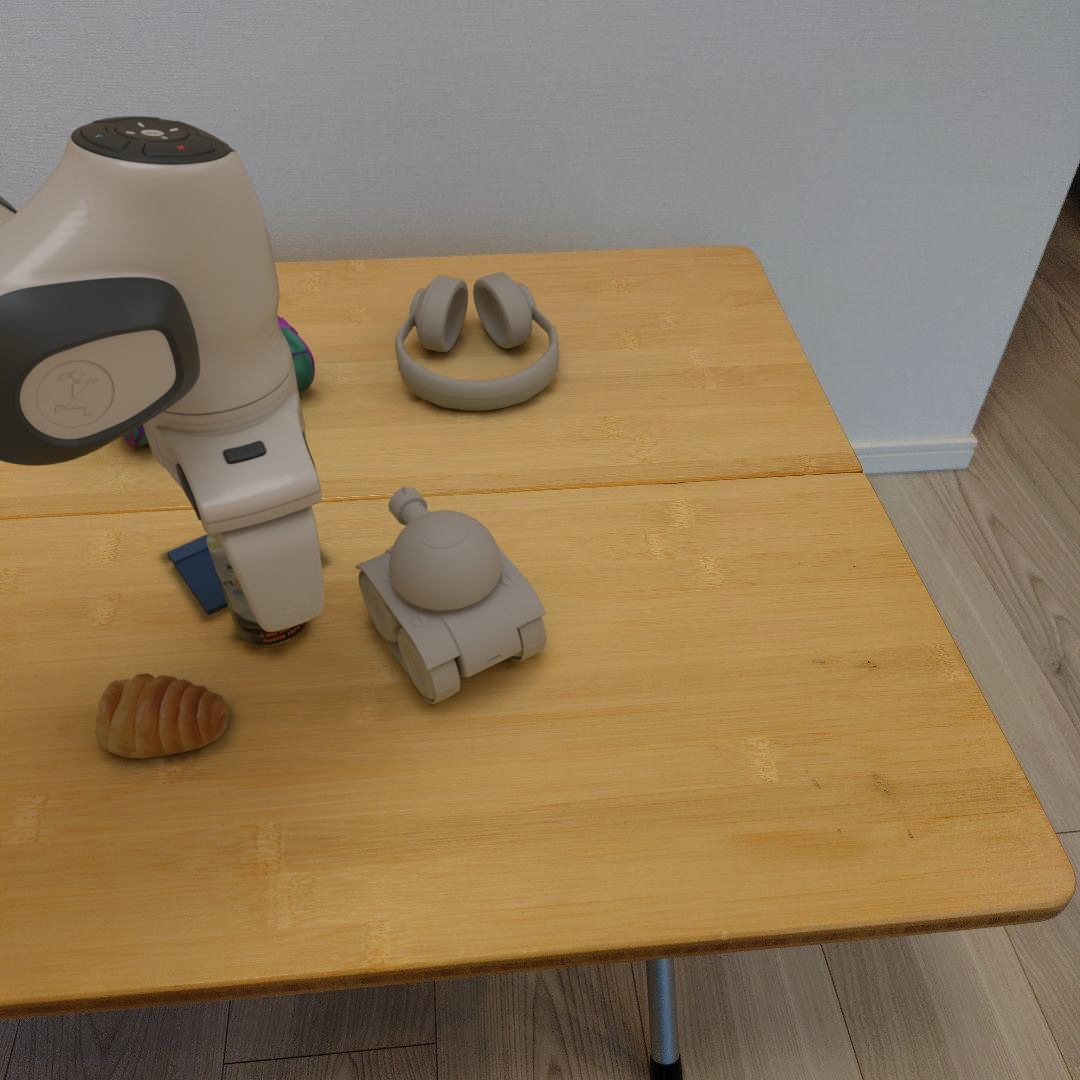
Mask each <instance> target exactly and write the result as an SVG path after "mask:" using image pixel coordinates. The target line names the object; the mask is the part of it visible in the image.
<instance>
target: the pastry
mask: <svg viewBox="0 0 1080 1080" xmlns="http://www.w3.org/2000/svg"><path fill="white" fill-rule="evenodd" d="M228 713H229V705H228V703H227V701H225V699H224V698H223V696H222V695H220V694H218V693H216V692H213V691H211V690H209V689H208V688H207V687H206V686H204V685H203V684H201V685H196V684H194V683H193V682H192V681H189V680H187V679H185V678H183V679H178V678H177V677H176V676H172V675H164V674H160V675H157V676H154V675H153V674H151V673H147V672H145V673H137V674H136V675H134V676H133V677H132V678H131V679H130V678H125V679H121V680H120V679H119V680H118V679H114V680H112V681H111V682H110V683H109V684H108V685H107V687H106V688H105V690H104V692H103V694H102V696H101V698H100V700H99V702H98V710H97V714H96V716H95V717H96V718H95V739H96V744H97V745H98V747H100V748H101V749H103V750H105V752H106V751H107V752H109V753H112V754H114V755H117V756H120V757H123V758H131V759H140V760H142V759H149V758H157V757H164V756H172V755H174V754H182V753H187V752H192V751H195V750H198V749H201V748H203V747H205V746H207V745H209V744H211V743H214V742H216V741H218V740H219V739H220V738H221V736H222V735H224V733H225V730H226V728H227V726H228V722H229V714H228Z"/></svg>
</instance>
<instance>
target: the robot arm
mask: <svg viewBox="0 0 1080 1080" xmlns="http://www.w3.org/2000/svg"><path fill="white" fill-rule="evenodd" d="M270 239H271V238H270V235H269V231H268V228H267V224H266V220H265V216H264V213H263V209H262V207H261V203H260V200H259V197H258V194H257V191H256V189H255V185H254V183H253V180H252V177H251V175H250V173H249V171H248V169H247V166H246V164H245V162H244V161H243V159H242V157H241V155H240V154H239V152H238V151H237V150H235V149H234V148H232V147H231V146H230V145H229V144H228V143H226V141H223V140H222V139H220V138H219V137H217V136H215V135H213V134H211V133H210V132H207V131H205V130H203V129H201V128H200V127H196V126H195V125H192V124H189V123H186V122H183V121H180V120H171V119H166V118H160V117H157V116H156V117H155V116H141V115H139V116H138V115H132V116H131V115H129V116H128V115H126V116H125V115H123V116H115V117H114V116H113V117H105V118H101V119H97V120H93V121H92V122H90V123H87V124H84V125H81V126H79V127H77V128H75V130H73V131H72V132H71V134H69V137H68V139H67V142H66V145H65V149H64V152H63V154H62V157H61V159H60V161H59V162H58V164H57V165H56V167H55V168H54V169H53V171H52V172H51V173H50V175H49V176H48V177H47V179H46V180H45V181H44V183H43V184H42V185H41V187H39V189H38V190H37V191H36V193H35V194H34V195H33V196H32V197H31V198H30V199H29V200H28V201H26V203H25V204H24V205H23V206H22V207H20V208H19V210H17V209H16V208H15V207H14V206H13V205H12V204H11V203H10V202H9V201H8V200H6V199H5V198H3V197H2V196H1V195H0V462H4V463H9V464H11V465H12V464H13V465H18V466H19V465H20V466H29V467H30V466H33V467H34V466H35V467H37V466H39V467H40V466H51V465H57V464H62V463H67V462H70V461H73V460H74V461H75V460H77V459H80V458H82V457H85V456H87V455H89V454H91V453H94V452H95V451H98V450H100V449H102V448H104V447H105V446H107V445H109V444H111V443H112V442H114V441H117V440H118V439H120V438H123V437H122V436H124V435H125V434H127V433H129V432H131V431H132V430H134V429H136V428H138V427H139V426H141V425H143V427H144V430H145V433H146V436H147V439H148V442H149V444H148V445H149V448H150V451H151V454H152V456H153V457H154V459H155V460H156V462H157V463H158V464H159V465H160V466H161V467H163V468H164V469H165V470H166V471H167V473H168V474H169V475H170V477H171V478H172V479H173V480H174V481H175V482H176V484H177V485H178V486H179V487H180V488H181V489H182V490H183V493H184V494H185V497H186V498H187V500H188V501H189V503H190V504H191V507H192V509H193V511H194V513H195V515H196V517H197V520H198V521H200V523H201V525H202V527H203V531H204V532H205V533H206V534H216V536H217V538H218V540H219V542H220V544H221V546H222V548H223V550H224V552H225V554H226V556H227V558H228V561H229V563H230V565H231V567H232V569H233V571H234V574H235V576H236V578H237V580H238V582H239V585H240V587H241V589H242V591H243V593H244V595H245V598H246V600H247V602H248V604H249V606H250V608H251V611H252V613H253V614H254V616H255V618H256V620H257V622H258V624H259V625H260V626H261V628H262V629H263V630H265V631H267V632H275V631H279V630H283V629H286V628H290V627H293V626H296V625H299V624H301V623H304V622H307V623H308V622H309V621H311V620H313V619H315V618H317V617H318V616H320V614H321V613H322V611H323V610H324V606H325V590H324V588H325V587H324V577H323V576H324V575H323V568H322V560H321V559H322V557H321V549H320V540H319V533H318V528H317V523H316V517H315V513H314V509H313V506H316V505H318V504H320V503H321V501H322V498H323V495H322V488H321V487H322V486H321V483H320V479H319V475H318V472H317V468H316V465H315V464H316V463H315V461H314V459H313V455H312V453H311V450H310V448H309V444H308V442H307V436H306V425H305V418H304V413H303V408H302V401H301V398H300V392H298V386H297V381H296V375H295V370H294V364H293V359H292V354H291V350H290V347H289V344H288V342H287V340H286V338H285V336H284V335H283V333H282V331H281V329H280V326H279V323H278V316H279V315H278V312H279V311H278V310H279V305H280V283H279V277H278V273H277V268H276V262H275V258H274V253H273V249H272V244H271V240H270Z"/></svg>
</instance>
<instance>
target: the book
mask: <svg viewBox="0 0 1080 1080" xmlns="http://www.w3.org/2000/svg"><path fill="white" fill-rule="evenodd" d="M207 535H208V533H206V535H203V536H201V537H198V538H196V539H194V540H191V541H190V542H189V541H188V542H186V543H185V544H182V545H180V546H178V547H176V548H173V549H170V550H169V551H167V552H166V554H167V556H168V558H169V559H170V560H171V562H172V563H173V565H174V566H175V568H176V569H177V571H178V572H179V574H180V575H181V577H182V578H183V580H184V581H185V583H186V584H187V586H188V588H189V589H190V590H191V591H192V594H194V595H195V597H196V599H197V600H198V601H199V603H200V605H201V607H202V608H203V609H204V611H205V612H206V613H207V614H208V615H210V614H212V613H214V612H217V611H218V610H220V609H223V608H225V607H228V604H227V601H226V598H225V595H224V592H223V589H222V586H221V583H220V581H219V578H218V575H217V572H216V569H215V566H214V563H213V560H212V557H211V554H210V552H209V549H208V546H207ZM321 561H322V558H321Z"/></svg>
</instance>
